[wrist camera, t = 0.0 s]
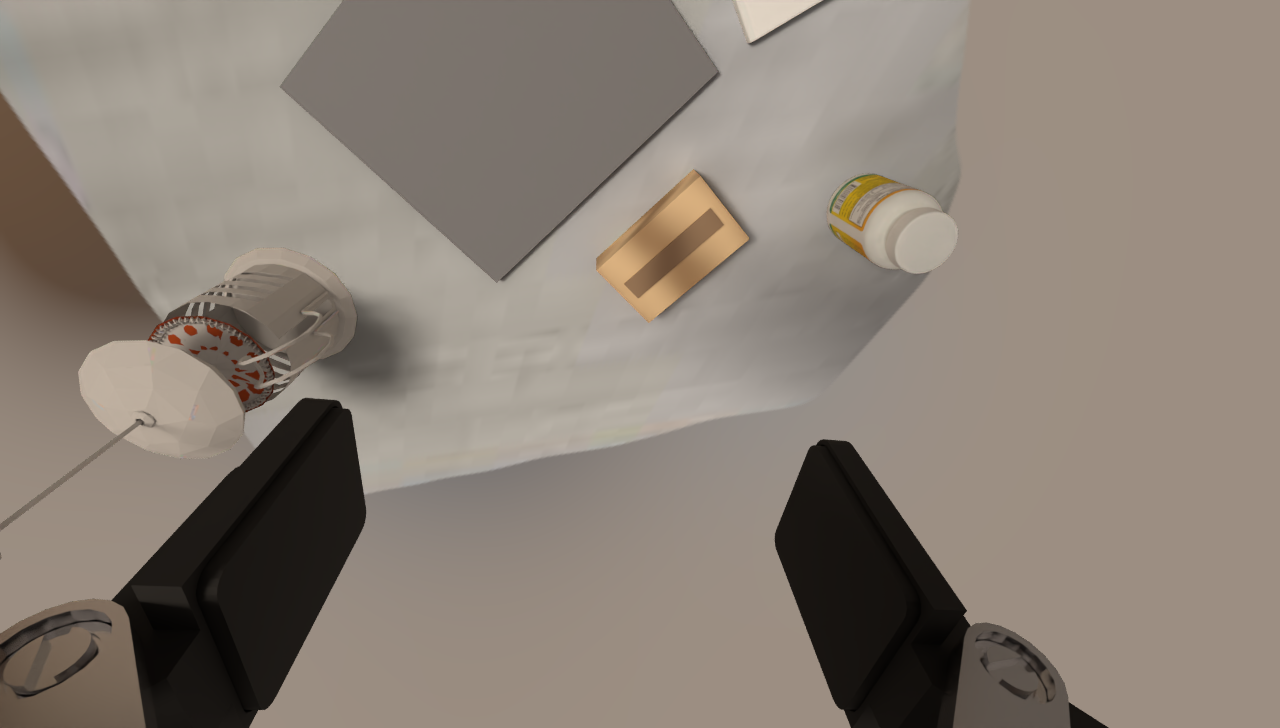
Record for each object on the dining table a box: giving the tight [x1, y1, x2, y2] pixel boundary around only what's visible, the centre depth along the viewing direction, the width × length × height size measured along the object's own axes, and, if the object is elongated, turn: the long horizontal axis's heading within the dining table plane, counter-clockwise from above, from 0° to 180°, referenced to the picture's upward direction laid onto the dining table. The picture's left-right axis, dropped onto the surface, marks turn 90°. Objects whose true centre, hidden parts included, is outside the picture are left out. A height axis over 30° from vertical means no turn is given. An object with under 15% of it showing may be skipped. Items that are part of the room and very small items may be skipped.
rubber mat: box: [280, 0, 718, 282], centre depth 33 cm, size 22×18×1 cm
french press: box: [0, 248, 357, 559], centre depth 29 cm, size 10×12×25 cm
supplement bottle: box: [827, 173, 958, 274], centre depth 36 cm, size 5×5×10 cm
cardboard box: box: [596, 169, 749, 323], centre depth 39 cm, size 10×6×3 cm, turn 132°
